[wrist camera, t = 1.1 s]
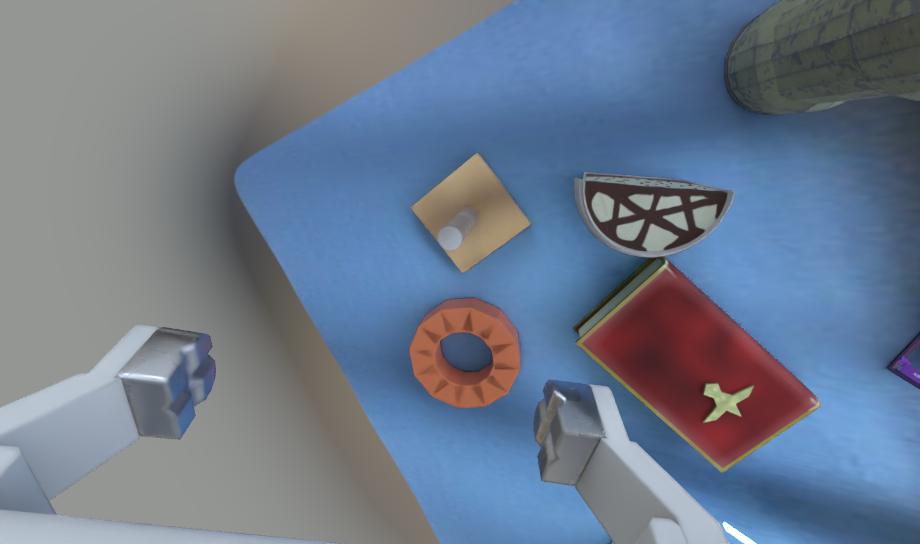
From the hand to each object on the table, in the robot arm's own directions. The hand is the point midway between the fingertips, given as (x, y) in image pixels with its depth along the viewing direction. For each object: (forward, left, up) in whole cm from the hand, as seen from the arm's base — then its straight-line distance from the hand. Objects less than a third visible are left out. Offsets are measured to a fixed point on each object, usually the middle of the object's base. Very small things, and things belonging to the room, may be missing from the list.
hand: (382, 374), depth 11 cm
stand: (0, +4, -38) cm, 38 cm away
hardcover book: (-26, -5, -38) cm, 47 cm away
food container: (-9, -9, -38) cm, 40 cm away
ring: (-12, +14, -38) cm, 42 cm away
